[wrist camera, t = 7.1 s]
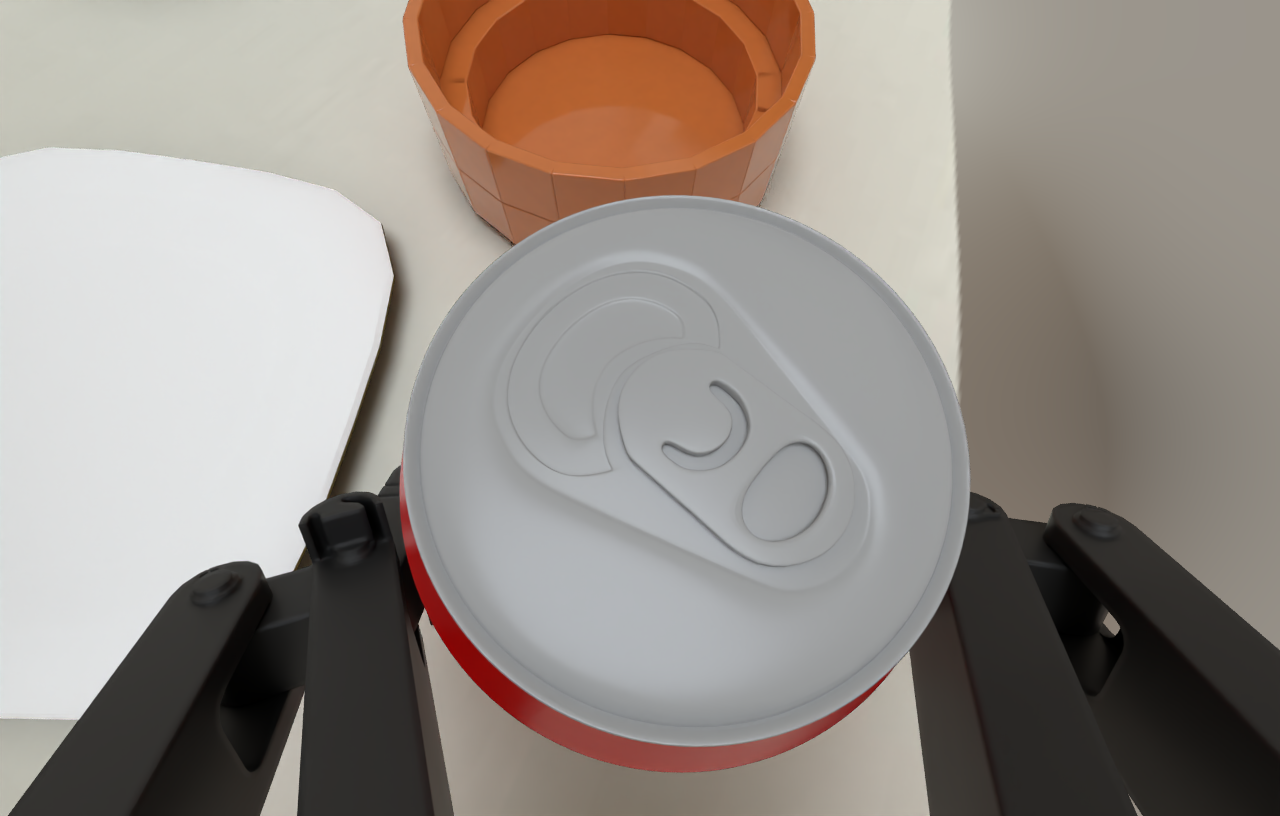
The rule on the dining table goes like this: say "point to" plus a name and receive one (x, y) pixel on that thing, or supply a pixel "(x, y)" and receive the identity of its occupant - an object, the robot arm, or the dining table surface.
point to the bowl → (607, 99)
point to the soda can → (681, 482)
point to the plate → (163, 392)
